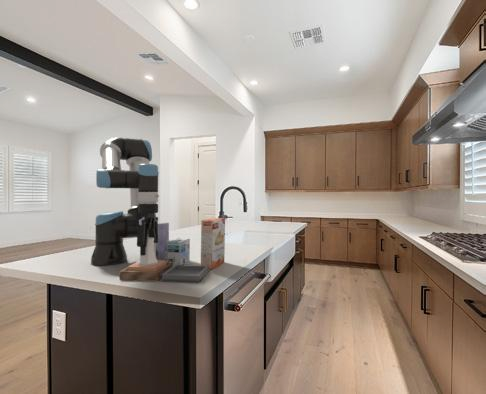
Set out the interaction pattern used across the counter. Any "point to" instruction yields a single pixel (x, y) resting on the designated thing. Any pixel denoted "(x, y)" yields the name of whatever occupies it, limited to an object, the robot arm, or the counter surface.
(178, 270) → the tray
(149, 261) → the vase
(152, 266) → the orange square slab
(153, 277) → the wooden square frame
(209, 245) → the cracker box
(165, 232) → the cake pan box
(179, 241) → the light bulb box
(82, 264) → the counter surface
